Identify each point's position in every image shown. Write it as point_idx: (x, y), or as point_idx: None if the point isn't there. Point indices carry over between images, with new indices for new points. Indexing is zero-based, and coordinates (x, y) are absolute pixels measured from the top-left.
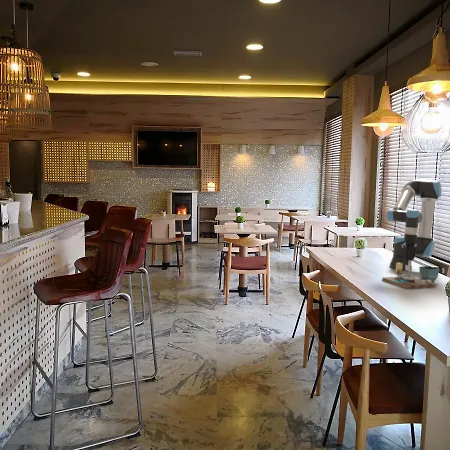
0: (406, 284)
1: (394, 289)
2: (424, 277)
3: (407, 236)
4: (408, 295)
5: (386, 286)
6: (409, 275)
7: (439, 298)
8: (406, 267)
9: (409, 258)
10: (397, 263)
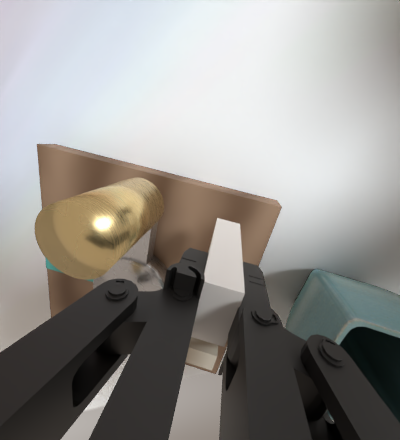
0: (65, 306)
1: (9, 282)
2: (298, 304)
3: None
4: (11, 342)
5: (3, 238)
6: (156, 282)
7: None
8: (210, 244)
9: (236, 348)
10: (37, 236)
